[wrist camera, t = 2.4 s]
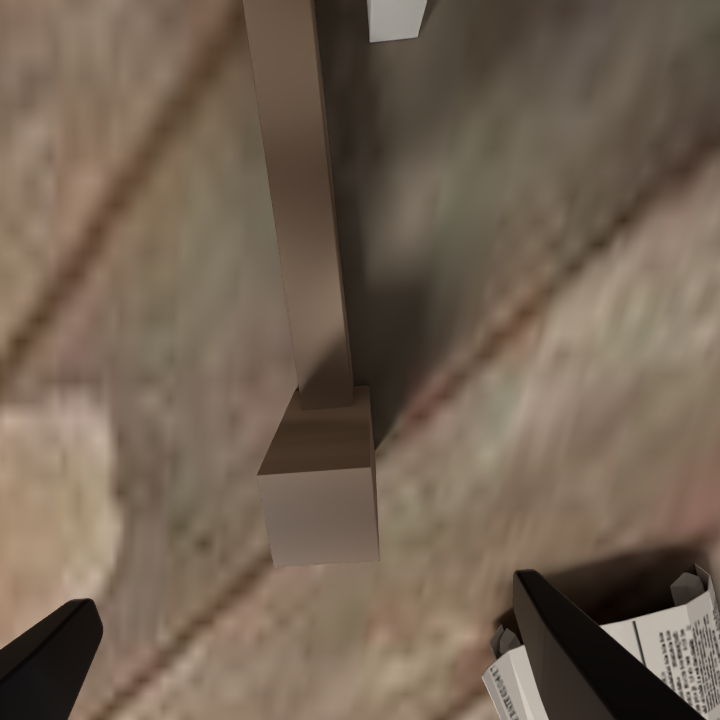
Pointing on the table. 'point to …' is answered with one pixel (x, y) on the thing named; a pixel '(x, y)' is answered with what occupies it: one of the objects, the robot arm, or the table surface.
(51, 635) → the robot arm
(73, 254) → the table surface
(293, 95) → the tan post with foot
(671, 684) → the newspaper
